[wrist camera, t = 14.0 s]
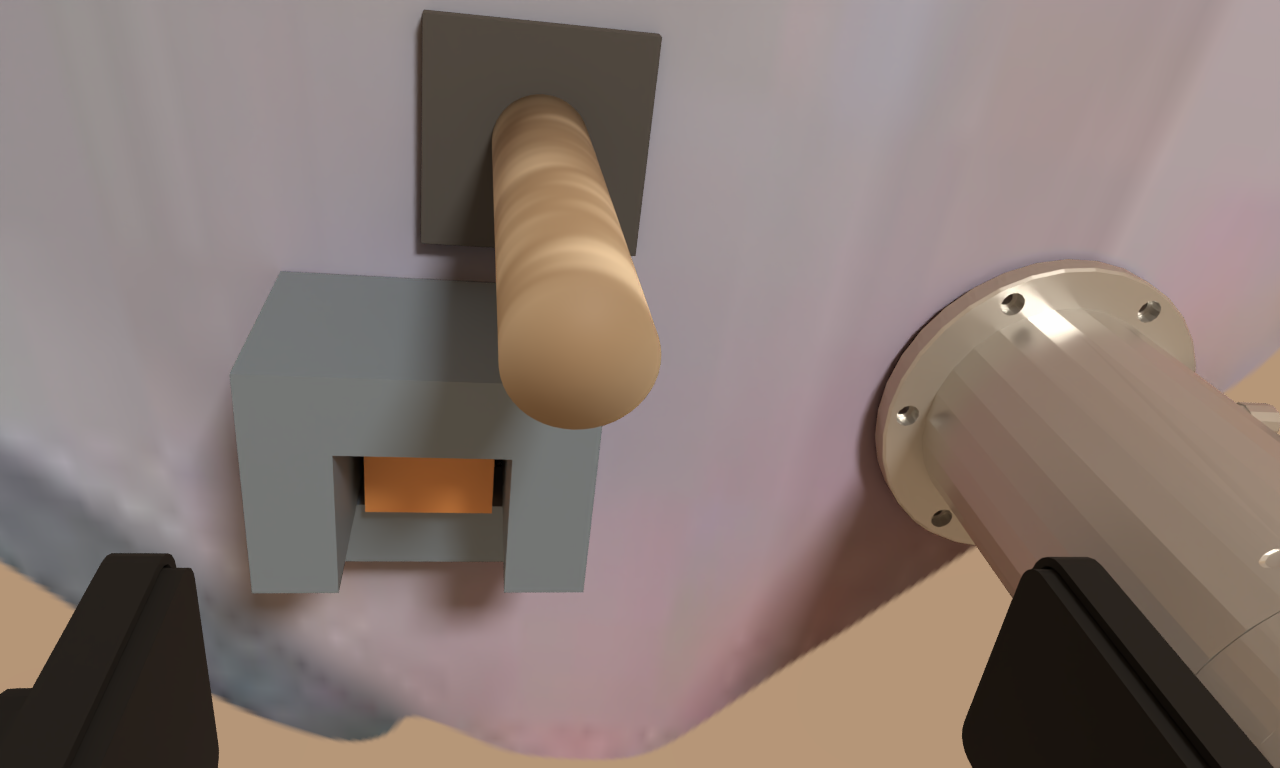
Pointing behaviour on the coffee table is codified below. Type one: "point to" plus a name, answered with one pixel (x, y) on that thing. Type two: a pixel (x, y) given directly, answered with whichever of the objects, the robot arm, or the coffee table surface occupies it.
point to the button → (428, 485)
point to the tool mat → (509, 70)
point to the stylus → (564, 275)
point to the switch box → (396, 436)
